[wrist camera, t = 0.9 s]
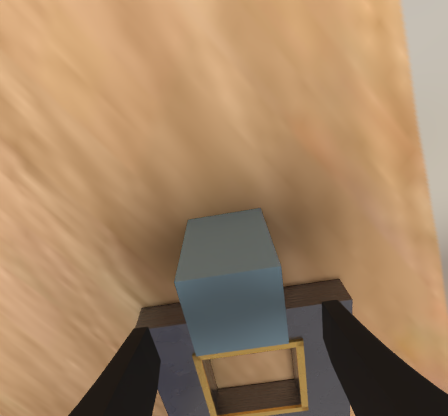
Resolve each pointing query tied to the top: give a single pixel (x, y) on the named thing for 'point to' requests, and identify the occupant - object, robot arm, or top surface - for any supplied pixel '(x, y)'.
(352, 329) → the robot arm
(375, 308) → the top surface
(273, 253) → the peg
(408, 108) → the top surface
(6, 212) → the top surface
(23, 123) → the top surface
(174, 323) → the square hole plate
